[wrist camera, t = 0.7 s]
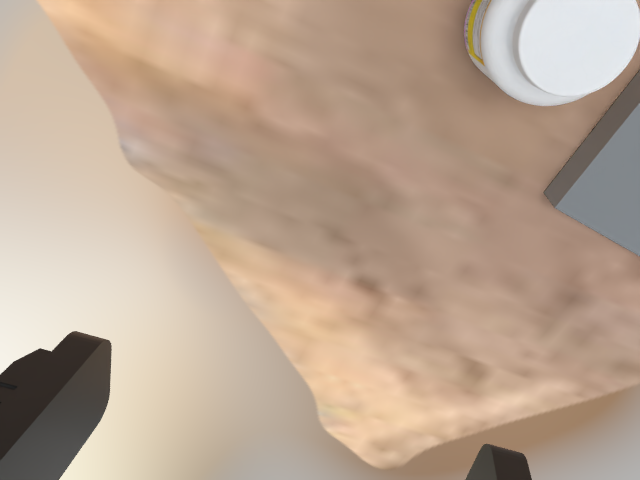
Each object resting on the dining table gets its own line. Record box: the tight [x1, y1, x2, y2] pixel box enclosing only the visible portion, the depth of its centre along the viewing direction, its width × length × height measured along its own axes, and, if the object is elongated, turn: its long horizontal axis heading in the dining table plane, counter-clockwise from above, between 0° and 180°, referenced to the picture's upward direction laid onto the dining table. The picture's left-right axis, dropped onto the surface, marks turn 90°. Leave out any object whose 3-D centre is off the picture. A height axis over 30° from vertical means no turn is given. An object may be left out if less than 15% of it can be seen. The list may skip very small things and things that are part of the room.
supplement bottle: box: [464, 0, 640, 106], centre depth 27 cm, size 7×7×13 cm
